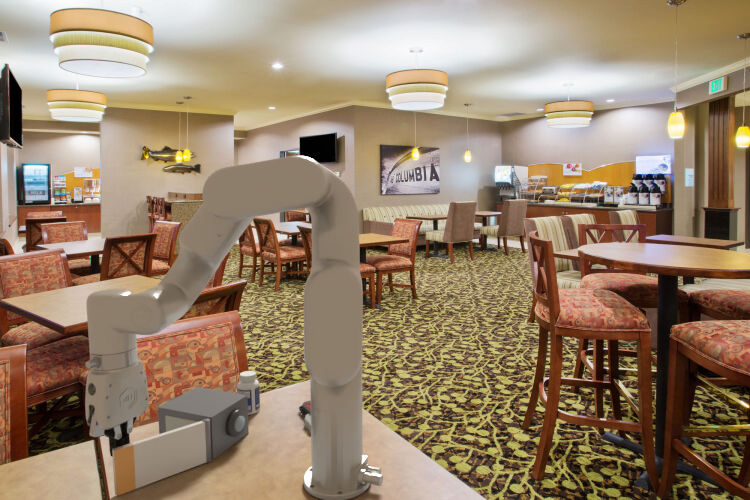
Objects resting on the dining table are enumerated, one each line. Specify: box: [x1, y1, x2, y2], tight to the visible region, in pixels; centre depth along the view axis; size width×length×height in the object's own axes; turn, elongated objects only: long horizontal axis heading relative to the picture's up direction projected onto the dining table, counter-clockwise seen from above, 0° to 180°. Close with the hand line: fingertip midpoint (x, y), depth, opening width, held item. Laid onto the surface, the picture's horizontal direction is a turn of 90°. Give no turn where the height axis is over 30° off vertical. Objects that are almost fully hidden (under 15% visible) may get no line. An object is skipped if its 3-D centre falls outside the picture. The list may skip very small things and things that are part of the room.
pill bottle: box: [236, 370, 261, 416], centre depth 122 cm, size 5×5×10 cm
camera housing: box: [157, 386, 249, 461], centre depth 107 cm, size 16×12×9 cm
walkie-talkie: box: [298, 399, 311, 434], centre depth 115 cm, size 9×4×20 cm
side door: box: [112, 419, 213, 496], centre depth 93 cm, size 18×1×9 cm, turn 132°
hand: (120, 455), depth 90 cm, fingers closed
